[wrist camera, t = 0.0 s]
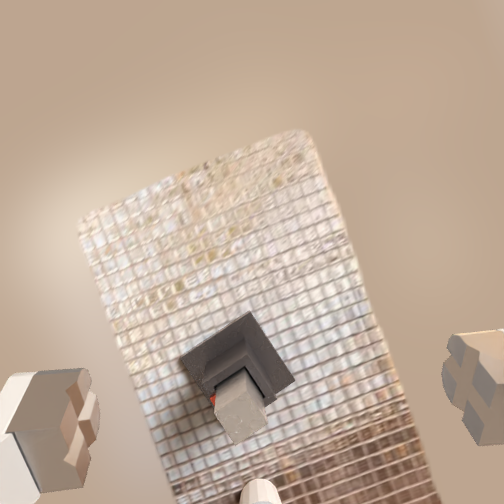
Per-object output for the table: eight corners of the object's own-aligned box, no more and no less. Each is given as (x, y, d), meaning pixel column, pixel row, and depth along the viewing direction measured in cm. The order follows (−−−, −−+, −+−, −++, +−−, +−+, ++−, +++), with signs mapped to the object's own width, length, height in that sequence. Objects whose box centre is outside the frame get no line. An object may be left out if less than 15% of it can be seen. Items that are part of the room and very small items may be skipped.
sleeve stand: (293, 377, 65) (308, 406, 52) (226, 423, 64) (225, 463, 52) (249, 310, 64) (254, 324, 52) (181, 355, 64) (169, 380, 52)
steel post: (257, 373, 62) (268, 423, 44) (234, 389, 62) (235, 446, 44) (242, 350, 62) (246, 390, 44) (218, 366, 62) (213, 413, 44)
